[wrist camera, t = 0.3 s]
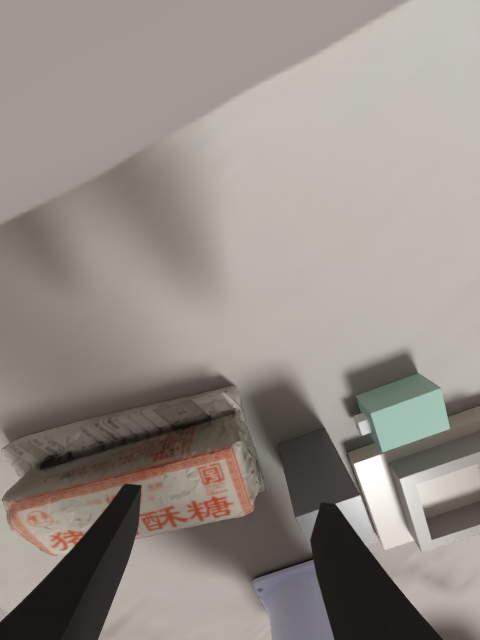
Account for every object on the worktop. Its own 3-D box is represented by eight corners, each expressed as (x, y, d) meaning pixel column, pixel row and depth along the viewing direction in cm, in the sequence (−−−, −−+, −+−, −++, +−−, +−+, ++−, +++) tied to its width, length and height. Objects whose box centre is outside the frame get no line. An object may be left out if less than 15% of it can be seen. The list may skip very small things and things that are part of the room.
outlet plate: (507, 492, 23) (541, 523, 21) (377, 535, 24) (394, 570, 21) (491, 401, 21) (529, 423, 18) (347, 452, 22) (363, 480, 19)
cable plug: (424, 408, 21) (450, 428, 19) (355, 432, 21) (371, 456, 19) (416, 371, 20) (441, 388, 18) (344, 397, 21) (359, 417, 18)
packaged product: (237, 417, 15) (274, 538, 18) (235, 378, 20) (265, 478, 23) (-48, 487, 16) (28, 595, 19) (15, 433, 21) (68, 525, 23)
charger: (338, 464, 22) (378, 543, 16) (293, 480, 22) (316, 563, 16) (324, 427, 21) (361, 496, 15) (277, 444, 21) (295, 519, 15)
